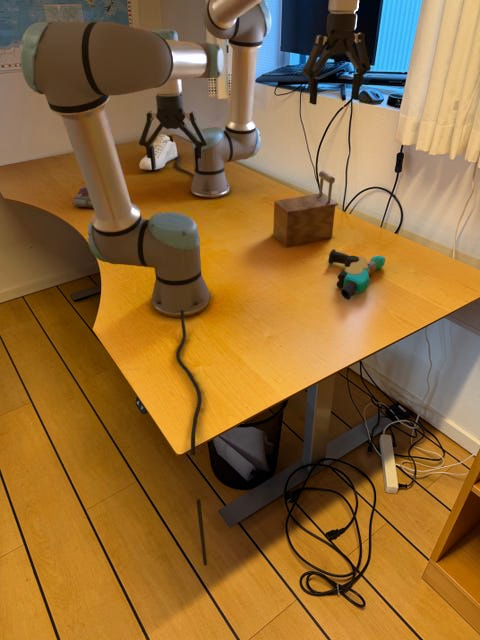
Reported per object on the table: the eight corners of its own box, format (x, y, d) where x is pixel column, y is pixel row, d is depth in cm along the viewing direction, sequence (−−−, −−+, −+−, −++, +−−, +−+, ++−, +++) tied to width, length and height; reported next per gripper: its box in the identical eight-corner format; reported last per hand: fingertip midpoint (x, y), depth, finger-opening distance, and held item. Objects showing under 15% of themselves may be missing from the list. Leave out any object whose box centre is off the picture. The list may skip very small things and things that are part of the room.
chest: (317, 226, 163) (320, 195, 156) (331, 237, 155) (335, 206, 149) (273, 234, 158) (274, 203, 151) (285, 246, 150) (287, 214, 144)
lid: (322, 195, 156) (325, 168, 151) (337, 205, 149) (340, 178, 144) (274, 203, 151) (275, 176, 146) (287, 214, 144) (288, 186, 139)
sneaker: (133, 173, 208) (129, 144, 201) (161, 153, 230) (158, 127, 223) (155, 175, 205) (151, 146, 198) (180, 155, 227) (178, 129, 220)
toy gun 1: (130, 197, 185) (114, 212, 174) (86, 194, 188) (67, 209, 177) (128, 187, 183) (112, 202, 171) (84, 184, 186) (65, 199, 174)
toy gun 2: (307, 279, 125) (363, 294, 119) (338, 241, 143) (388, 251, 138) (306, 294, 127) (360, 308, 122) (336, 254, 146) (385, 265, 140)
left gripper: (214, 91, 136) (217, 165, 149) (128, 91, 138) (138, 164, 150) (211, 96, 130) (214, 173, 143) (121, 96, 132) (132, 172, 144)
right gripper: (375, 10, 129) (363, 95, 141) (292, 13, 121) (288, 102, 134) (391, 11, 123) (378, 99, 136) (306, 15, 116) (301, 108, 128)
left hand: (175, 168), depth 146 cm, fingers open, 13 cm apart
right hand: (333, 101), depth 135 cm, fingers open, 13 cm apart
